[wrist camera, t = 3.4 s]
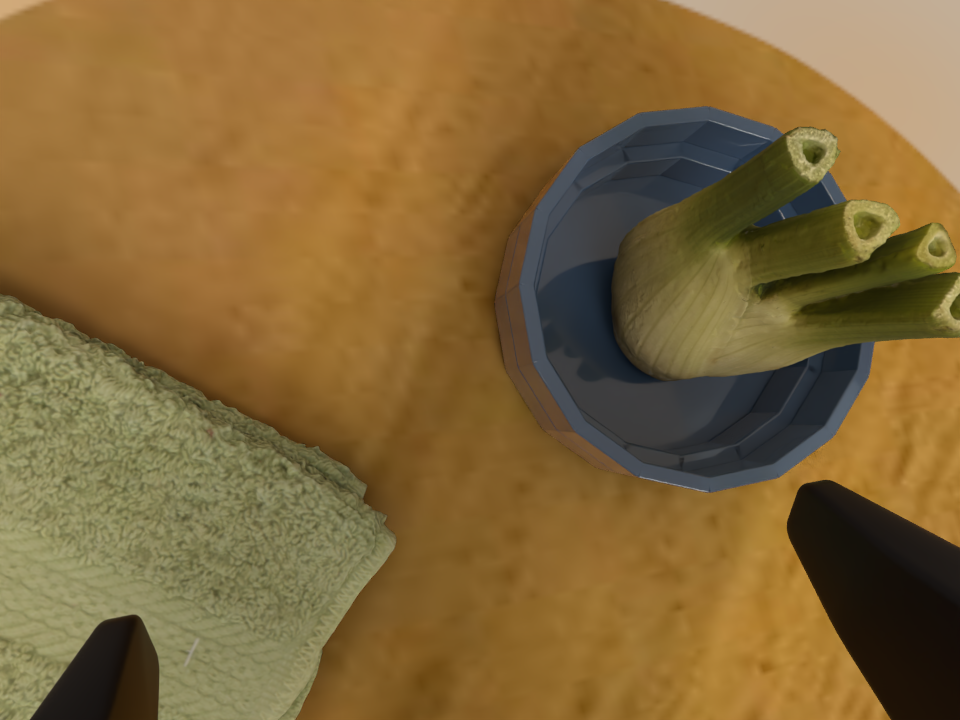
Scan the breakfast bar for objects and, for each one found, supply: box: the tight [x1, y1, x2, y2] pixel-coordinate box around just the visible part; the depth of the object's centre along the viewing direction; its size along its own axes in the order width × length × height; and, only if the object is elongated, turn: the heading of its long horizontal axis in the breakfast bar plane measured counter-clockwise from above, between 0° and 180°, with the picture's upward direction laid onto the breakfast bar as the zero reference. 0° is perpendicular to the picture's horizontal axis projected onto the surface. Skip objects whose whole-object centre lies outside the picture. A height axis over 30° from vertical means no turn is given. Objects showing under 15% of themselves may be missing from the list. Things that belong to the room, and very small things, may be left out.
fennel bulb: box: [611, 127, 960, 381], centre depth 20 cm, size 6×5×12 cm
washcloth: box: [0, 294, 396, 720], centre depth 20 cm, size 13×18×3 cm
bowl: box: [494, 106, 875, 493], centre depth 24 cm, size 12×12×4 cm
